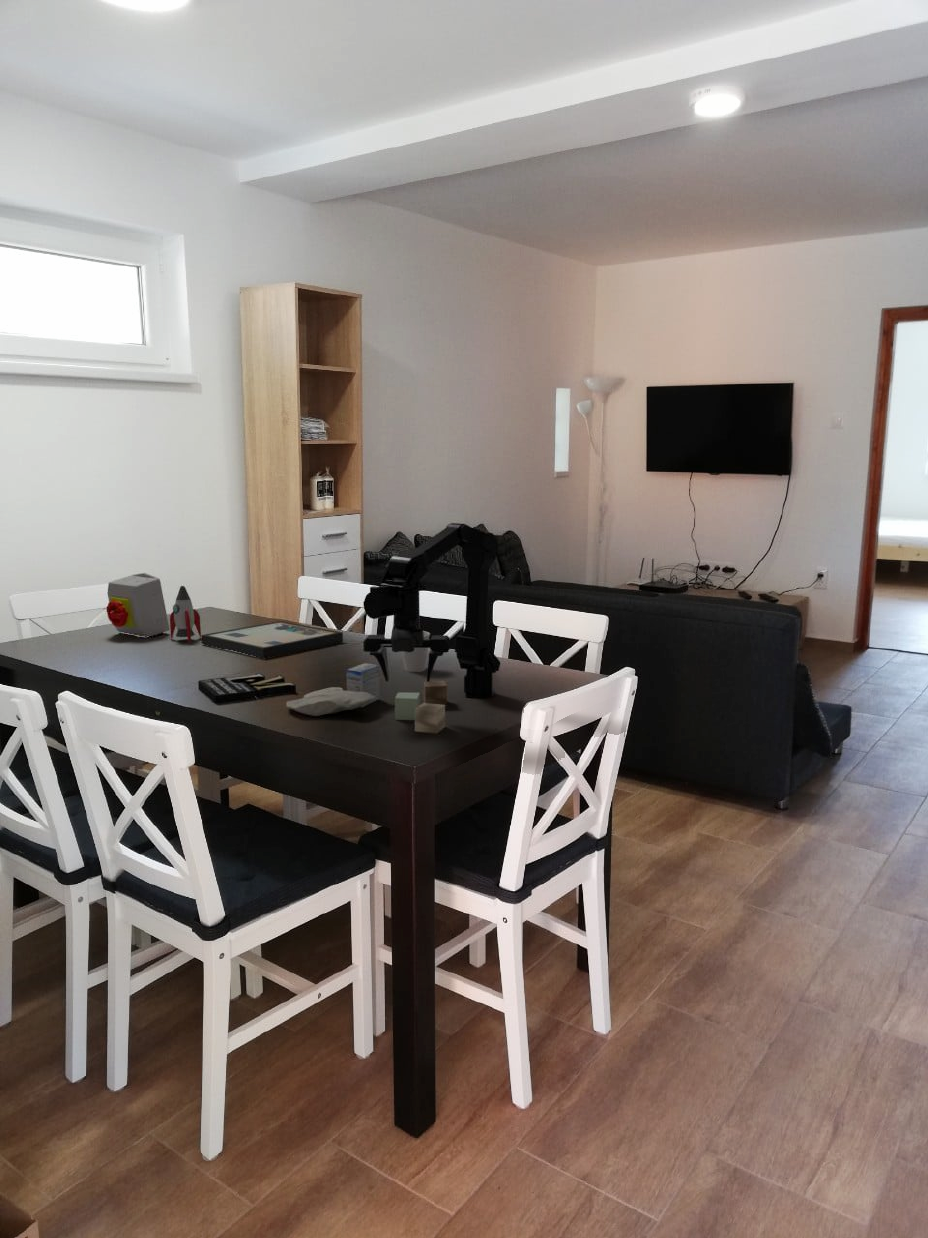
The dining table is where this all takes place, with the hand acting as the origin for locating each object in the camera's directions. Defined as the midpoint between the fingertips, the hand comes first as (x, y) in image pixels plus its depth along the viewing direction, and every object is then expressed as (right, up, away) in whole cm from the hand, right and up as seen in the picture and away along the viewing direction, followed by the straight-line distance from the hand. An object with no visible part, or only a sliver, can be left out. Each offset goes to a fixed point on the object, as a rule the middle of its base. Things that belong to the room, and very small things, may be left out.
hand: (407, 681), depth 209 cm
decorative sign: (-42, -5, +24) cm, 48 cm away
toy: (-74, +7, +86) cm, 113 cm away
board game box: (-46, +5, +80) cm, 92 cm away
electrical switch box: (-94, +8, +93) cm, 132 cm away
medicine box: (-11, -6, +13) cm, 18 cm away
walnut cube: (+6, -6, +12) cm, 15 cm away
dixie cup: (-1, 0, +46) cm, 46 cm away
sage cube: (0, -8, +1) cm, 8 cm away
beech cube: (+5, -10, -8) cm, 14 cm away
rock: (-20, -8, +6) cm, 22 cm away
